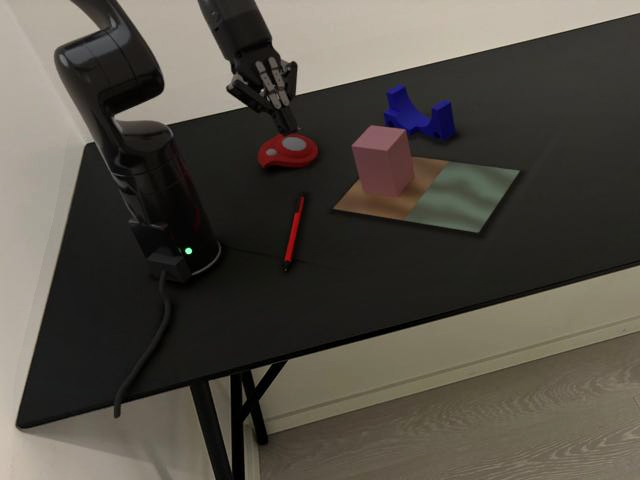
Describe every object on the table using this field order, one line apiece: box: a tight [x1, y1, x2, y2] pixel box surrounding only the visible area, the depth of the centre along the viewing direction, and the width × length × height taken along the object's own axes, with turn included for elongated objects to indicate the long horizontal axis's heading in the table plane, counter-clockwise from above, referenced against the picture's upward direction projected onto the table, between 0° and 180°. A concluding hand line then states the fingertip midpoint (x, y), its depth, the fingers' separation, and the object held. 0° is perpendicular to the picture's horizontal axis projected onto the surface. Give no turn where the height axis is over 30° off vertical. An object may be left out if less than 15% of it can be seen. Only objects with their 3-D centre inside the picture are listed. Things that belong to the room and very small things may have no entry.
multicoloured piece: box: [332, 155, 521, 234], centre depth 127 cm, size 16×24×1 cm, turn 65°
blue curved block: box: [382, 83, 456, 142], centre depth 138 cm, size 12×4×6 cm, turn 47°
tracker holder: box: [257, 126, 319, 170], centre depth 138 cm, size 12×4×10 cm
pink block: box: [351, 124, 415, 197], centre depth 126 cm, size 6×6×8 cm
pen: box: [283, 191, 305, 271], centre depth 123 cm, size 1×19×1 cm, turn 1°
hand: (290, 134), depth 124 cm, fingers closed
